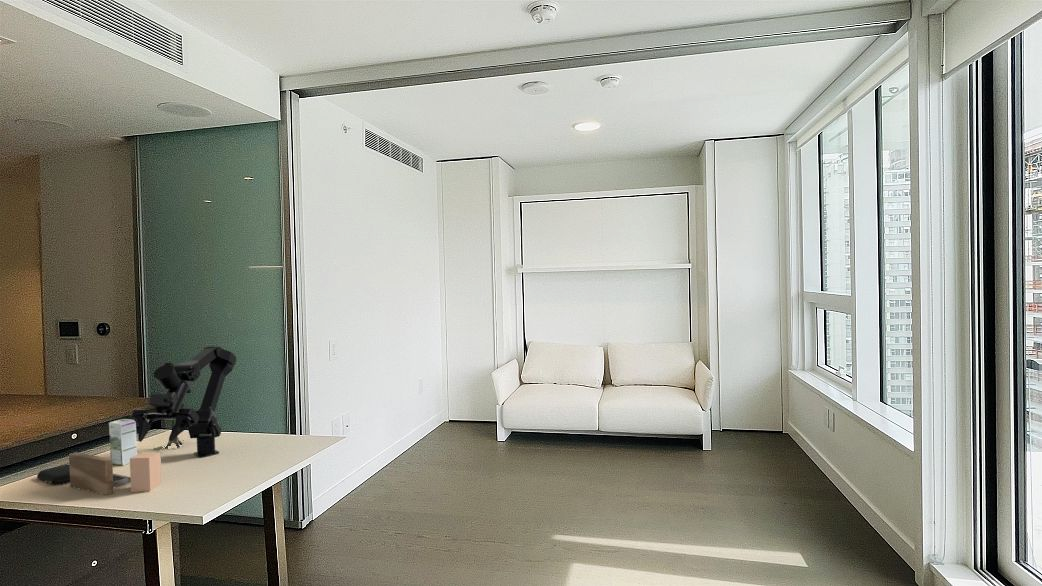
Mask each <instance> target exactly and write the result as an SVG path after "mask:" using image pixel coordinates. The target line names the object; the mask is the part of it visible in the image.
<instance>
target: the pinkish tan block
mask: <svg viewBox="0 0 1042 586" xmlns="http://www.w3.org/2000/svg"><path fill="white" fill-rule="evenodd" d="M161 454H162V453H161V451H150V452H140V453H137V455H136V456H134V457H132V458H130V464H129V472H130V473H129V474H130V476H129V477H131V483H130V492H131V493H134V492H133V491H151V490H152V491H154V490H155V488H156V489H157V488H159V487H160V485H161V486H162V484H163V483H162V462H161V458H162V455H161ZM158 486H159V487H158ZM153 489H154V490H153ZM152 491H151V492H152Z"/></svg>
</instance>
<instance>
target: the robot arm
mask: <svg viewBox="0 0 1042 586" xmlns="http://www.w3.org/2000/svg"><path fill="white" fill-rule="evenodd" d="M236 362H237V357H236V355H235V354H234V353H233V352H231V351H230V350H226V349H225V348H224V349H223V348H222V347H221V346H219V345H210V346H205V347H204V348H203V350H201V351H199V353H198V354H196V355H195V356H193V357H192V358H191V359H190V360H188V361H183V362H179V363H178V364H175V365H174V364H173V362H165V363H164V365H162V366H160V367H158V368H157V369H155V370H154V372H153V377H154V379H155V380H156V382H158V384H159V385H160V386H161V388H162V389H164V390H166V392H165V393H158V394H157V393H154V394H150V395H149V399H148V403H147V405H148V406H152V407H153V408H152V409H153V410H154V412H150V411H149V409H148V408H136V409H133V410H132V412H131V414H130V418H131V420H134V421H135V422H136V425H137V426H138V442H140V443H141V442H143V441H144V439H145V437H146V435H147V434H148V432H149V431H150V429H151V428H152V424H153V422H154V421H155V420H168V421H169V420H170V421H171V420H172V419H174V420H175V421H174V427H173V429H172V428H171V432H170V434H169V437H168V441H169V440H170V441H172V440H173V439H174V438H175V437H178V436H180V434H182V433H183V432H184V431H185V430H188V434H189V438H190V439H196V451H195V452H193V455H194V456H196V457H198V458H204V457H207V456H213V455H216V454H219V453H220V451H218V450H216V438H218V437H220V436H221V435H222V428H221V426H220V424H219V423H218V418H217V415H216V408H217V405H218V402H219V398H220V396H221V392H222V389H223V385H224V382H225V379H226V376H228V375H229V373H231V372H232V371H233V369H234V367H235V364H236ZM206 366H209V369H210V372H211V374H210V376H209V379H208V382H207V386H206V388H205V392H204V395H203V397H202V401H201V404H200V407H199V408H198V409H197V410H195V409H194V408H193V407H184V406H185V404H184V403H183V402H184V399H185V397H186V395H187V394H191V393H192V390H191V388H190V385H189V384H188V383H187V382H189V383H190V382H192V383H193V382H196V380H198V379H199V377H200V376H201V374H202V373H201V371H202V370H203V369H204V368H205V367H206ZM155 411H156V412H155Z"/></svg>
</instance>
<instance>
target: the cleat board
mask: <svg viewBox="0 0 1042 586" xmlns="http://www.w3.org/2000/svg"><path fill="white" fill-rule="evenodd" d="M68 464H69V468H70V482H69V487H70V488H73V487H75V488H74V489H77V488H80V489H79V490H82V489H84V490H83V491H86V490H89V491H88V492H90V491H93V492H92V493H95V492H97V493H96V494H99V493H102V494H101V495H103V494H106V495H105V496H108V495H111V494H110V493H112V494H114V493H115V492H114V489H115V488H118V487H122V486H124V485H127V484H131V476H127V475H122V474H121V475H120V474H118V473H114V471H113V470H114V469H113V467H114V466H113V465H114V464H112V459H111V457H109V458H108V457H103V456H99V455H93V454H88V453H87V454H86V453H82V452H76V451H75V452H73V453H69V454H68ZM114 487H115V488H114ZM113 492H114V493H113ZM107 494H108V495H107Z"/></svg>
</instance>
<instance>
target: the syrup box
mask: <svg viewBox="0 0 1042 586" xmlns="http://www.w3.org/2000/svg"><path fill="white" fill-rule="evenodd" d="M108 428H109V430H108V431H109V449H110V450H109V451H110V459H112V465H115V466H126V465H130V458H132V457H134V456H136V455H138V443H137V423H136V422H135V421H134V420H133V419H127V418H120V419H116V420H114V421H110V422H108Z"/></svg>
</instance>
